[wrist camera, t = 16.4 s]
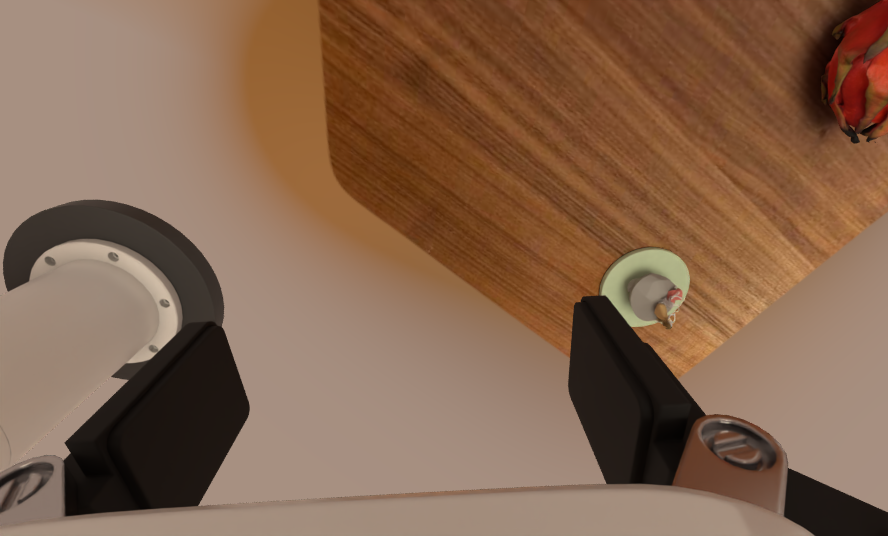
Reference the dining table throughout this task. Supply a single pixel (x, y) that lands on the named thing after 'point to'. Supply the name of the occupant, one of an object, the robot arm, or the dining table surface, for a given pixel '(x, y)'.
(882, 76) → the dragon fruit
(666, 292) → the figurine
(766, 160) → the dining table surface
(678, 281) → the mat
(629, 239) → the dining table surface
